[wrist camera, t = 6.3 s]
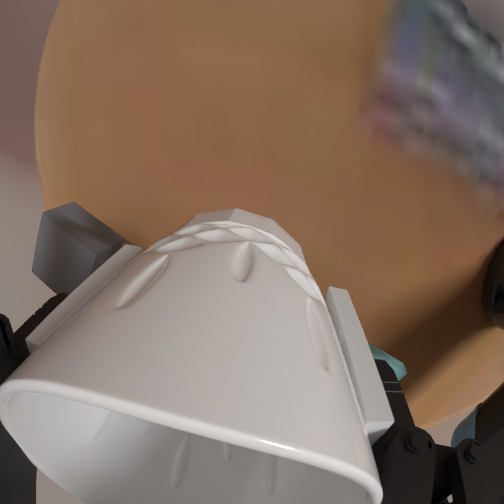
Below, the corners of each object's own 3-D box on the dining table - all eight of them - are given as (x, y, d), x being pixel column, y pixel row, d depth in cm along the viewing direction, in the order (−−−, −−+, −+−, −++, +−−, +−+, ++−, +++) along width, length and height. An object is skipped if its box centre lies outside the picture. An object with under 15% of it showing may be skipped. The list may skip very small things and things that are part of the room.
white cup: (306, 356, 15) (319, 550, 5) (155, 339, 15) (76, 506, 6) (336, 203, 12) (480, 411, 2) (144, 187, 12) (-64, 319, 3)
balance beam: (403, 363, 24) (418, 403, 19) (324, 429, 29) (325, 468, 24) (95, 168, 22) (52, 177, 17) (63, 272, 27) (29, 295, 22)
